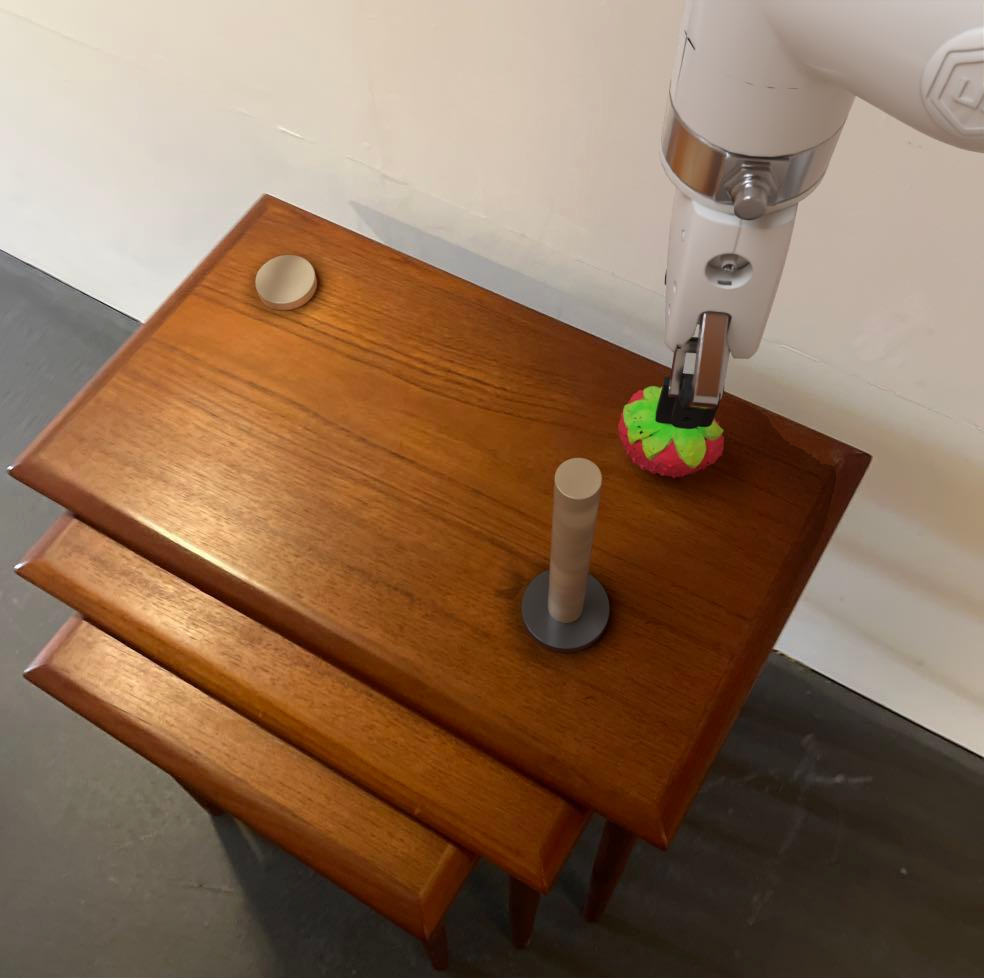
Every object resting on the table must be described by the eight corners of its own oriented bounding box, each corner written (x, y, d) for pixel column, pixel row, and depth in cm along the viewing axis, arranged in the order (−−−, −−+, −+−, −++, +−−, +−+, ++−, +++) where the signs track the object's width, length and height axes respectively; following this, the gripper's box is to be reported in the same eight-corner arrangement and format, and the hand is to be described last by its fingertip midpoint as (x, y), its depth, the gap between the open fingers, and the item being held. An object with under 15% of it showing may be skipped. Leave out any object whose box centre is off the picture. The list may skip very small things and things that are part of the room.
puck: (322, 264, 82) (320, 256, 81) (310, 312, 80) (308, 305, 79) (265, 260, 82) (262, 252, 81) (252, 308, 80) (249, 301, 79)
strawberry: (685, 523, 70) (708, 455, 60) (597, 470, 72) (607, 397, 63) (727, 464, 71) (756, 389, 62) (640, 415, 73) (656, 335, 64)
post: (611, 576, 68) (642, 431, 50) (605, 658, 66) (634, 537, 48) (526, 567, 69) (525, 422, 51) (516, 648, 67) (512, 525, 48)
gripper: (841, 292, 39) (747, 485, 55) (835, -7, 46) (753, 241, 61) (651, 278, 40) (612, 472, 55) (673, -13, 47) (632, 233, 62)
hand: (686, 351), depth 58 cm, fingers open, 9 cm apart
